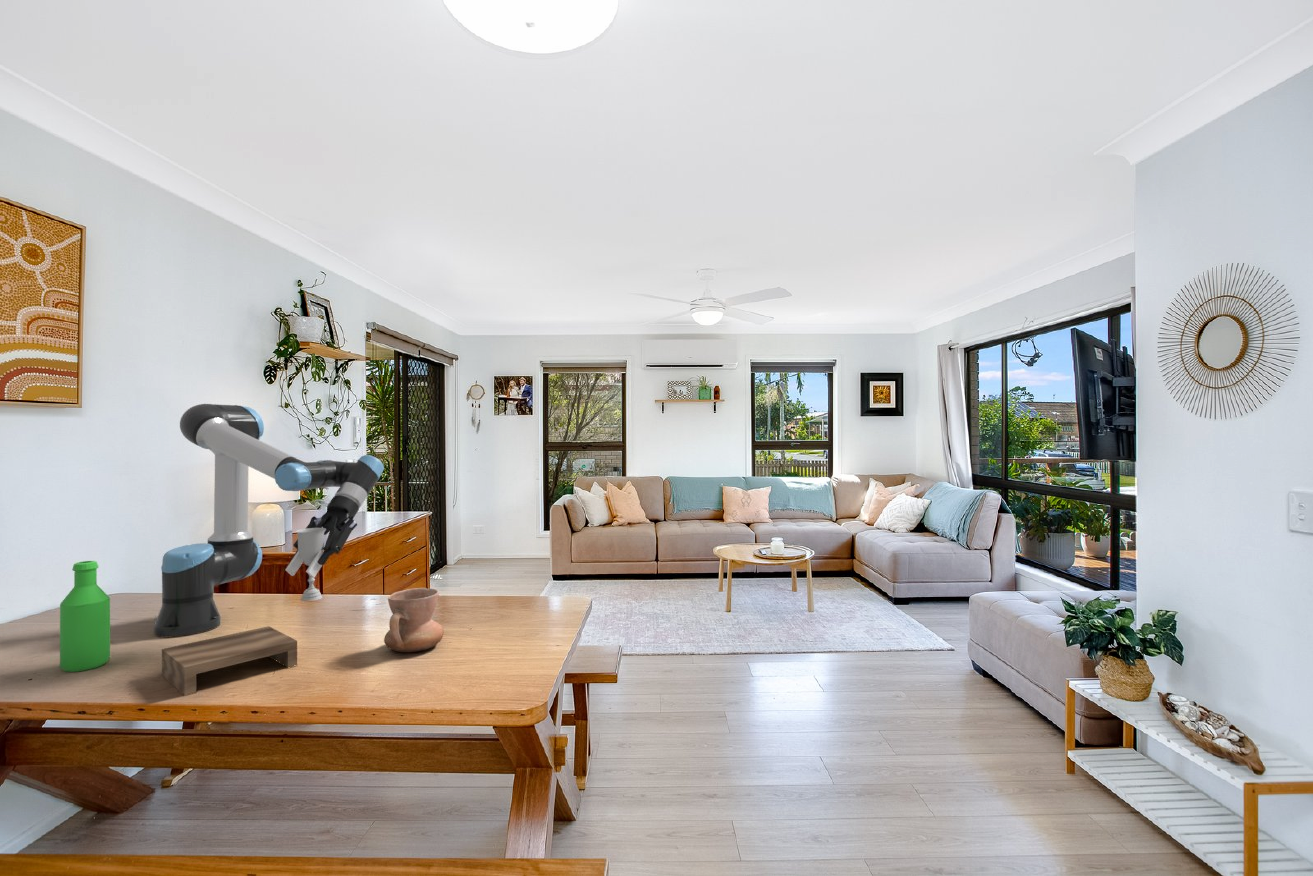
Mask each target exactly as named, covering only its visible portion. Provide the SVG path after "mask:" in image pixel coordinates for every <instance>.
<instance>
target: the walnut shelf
mask: <svg viewBox="0 0 1313 876" xmlns="http://www.w3.org/2000/svg"><path fill="white" fill-rule="evenodd" d="M268 656H269V657H268ZM267 657H268V658H270V657H271V658H270V659H272V660H274V659H275V660H277V661H278V662H277V661H276V662H277V663H279V662H280V663H281V665H282V664H284V665H285V666H287V667H290V668H292V667H291V666H294V665H297V666H298V640H297V639H294V638H293V637H291V636H289V635H287V634H285V633H284V632H282V631H279V630H277V629H275V628H273V627H272V626H269V625H267V626H263V627H258V628H254V629H251V630H250V629H249V630H245V631H240V632H235V633H231V634H225V635H221V636H216V637H211V638H207V639H202V640H197V641H193V642H188V643H185V644H179V645H174V646H169V647H165V648H161V676H162V677H163V678H164V679H165V680H167V681H168V682H169V683H170V684H171V685H172V686H174V688H175V689H176V690H178V691H179V692H180V691H181V692H182V693H183V694H184V695H183V694H182V693H181V692H180V693H181V694H182V695H183V696H188V695H189V696H190V695H193V694H196V693H197V675H198V674H201V673H207V672H209V671H210V672H211V671H214V670H217V669H223V668H226V667H227V668H228V667H230V666H234V665H235V666H236V665H238V664H242V663H245V662H250V661H255V660H258V659H263V658H267ZM275 660H274V661H275ZM280 663H279V664H280ZM284 665H283V666H284ZM285 666H284V667H285ZM287 667H286V668H287ZM294 667H295V666H294ZM192 693H193V694H192Z"/></svg>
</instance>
